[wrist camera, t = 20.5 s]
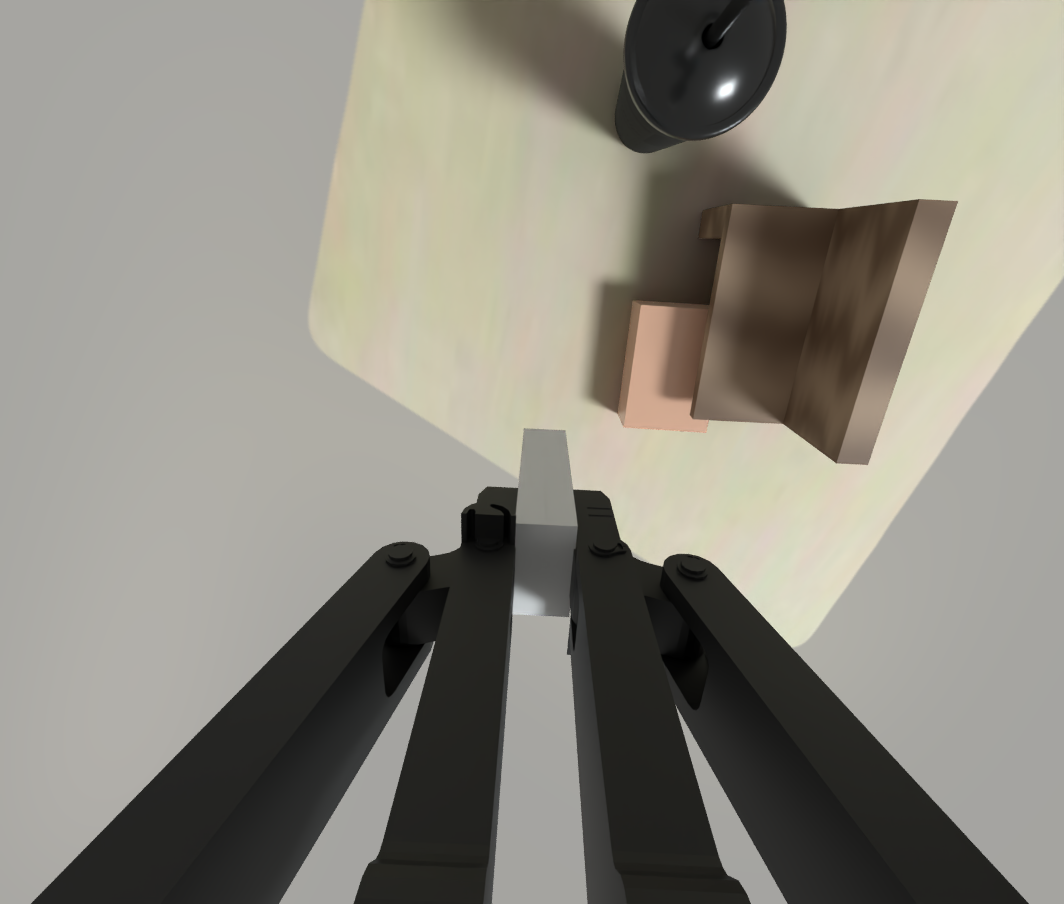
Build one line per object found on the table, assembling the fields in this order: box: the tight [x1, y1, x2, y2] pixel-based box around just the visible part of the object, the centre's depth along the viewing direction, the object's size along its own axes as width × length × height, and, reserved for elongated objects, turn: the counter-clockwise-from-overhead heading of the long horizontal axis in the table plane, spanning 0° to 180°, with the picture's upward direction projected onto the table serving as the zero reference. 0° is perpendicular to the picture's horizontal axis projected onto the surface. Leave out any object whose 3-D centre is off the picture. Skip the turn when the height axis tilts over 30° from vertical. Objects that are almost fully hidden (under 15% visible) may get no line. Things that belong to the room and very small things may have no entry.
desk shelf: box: [690, 199, 958, 465], centre depth 35 cm, size 15×9×14 cm, turn 178°
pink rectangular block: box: [618, 300, 709, 433], centre depth 41 cm, size 7×10×4 cm
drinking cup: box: [615, 0, 787, 153], centre depth 27 cm, size 8×8×20 cm
